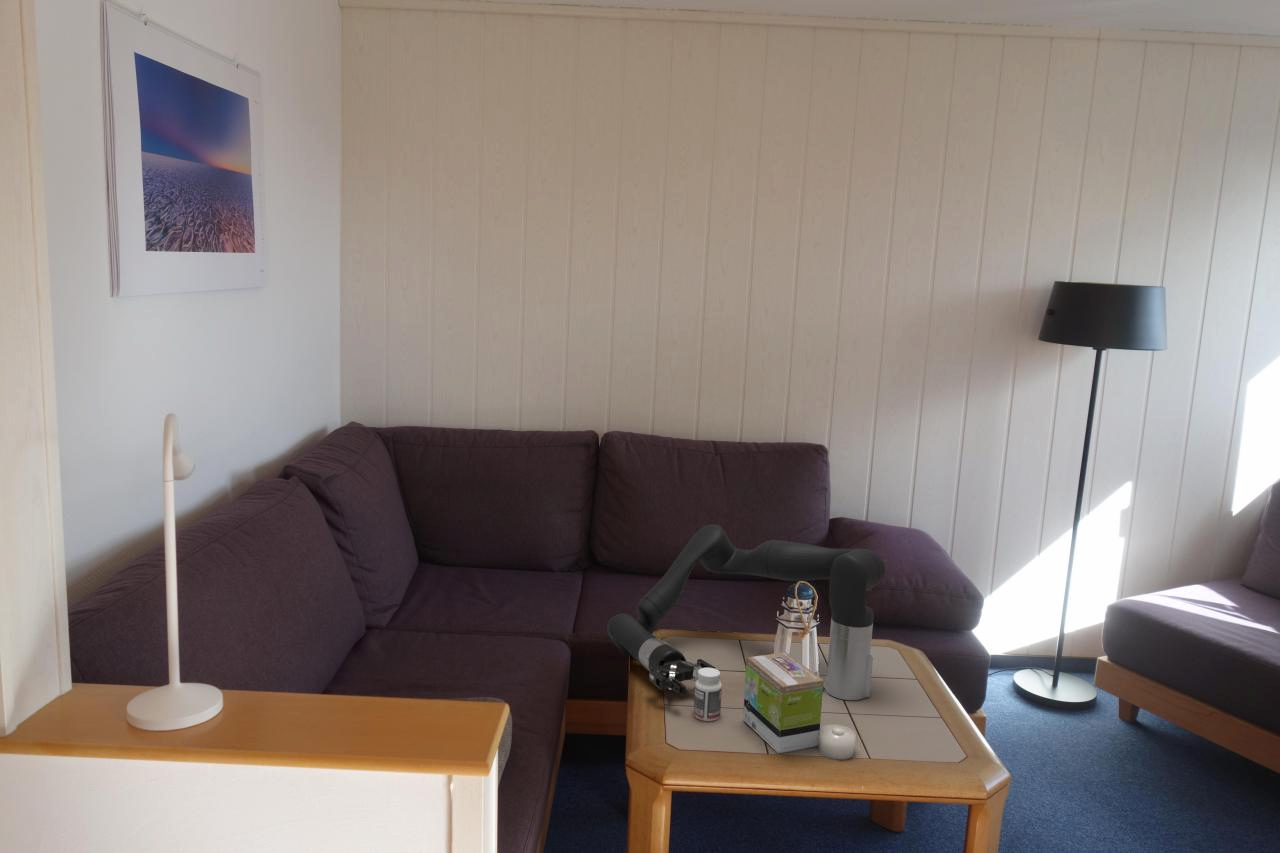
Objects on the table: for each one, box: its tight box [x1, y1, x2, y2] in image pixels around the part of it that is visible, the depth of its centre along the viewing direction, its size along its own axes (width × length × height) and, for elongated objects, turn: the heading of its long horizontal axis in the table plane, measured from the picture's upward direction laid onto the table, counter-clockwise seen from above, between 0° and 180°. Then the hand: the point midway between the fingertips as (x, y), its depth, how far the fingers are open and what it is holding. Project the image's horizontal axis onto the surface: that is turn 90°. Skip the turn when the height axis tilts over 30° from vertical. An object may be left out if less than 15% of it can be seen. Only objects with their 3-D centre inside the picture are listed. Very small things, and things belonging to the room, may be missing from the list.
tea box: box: [742, 651, 824, 754], centre depth 203 cm, size 15×10×15 cm, turn 23°
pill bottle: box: [693, 668, 723, 722], centre depth 210 cm, size 6×6×10 cm
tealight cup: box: [818, 723, 857, 761], centre depth 198 cm, size 7×7×5 cm
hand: (700, 687), depth 212 cm, fingers open, 8 cm apart
